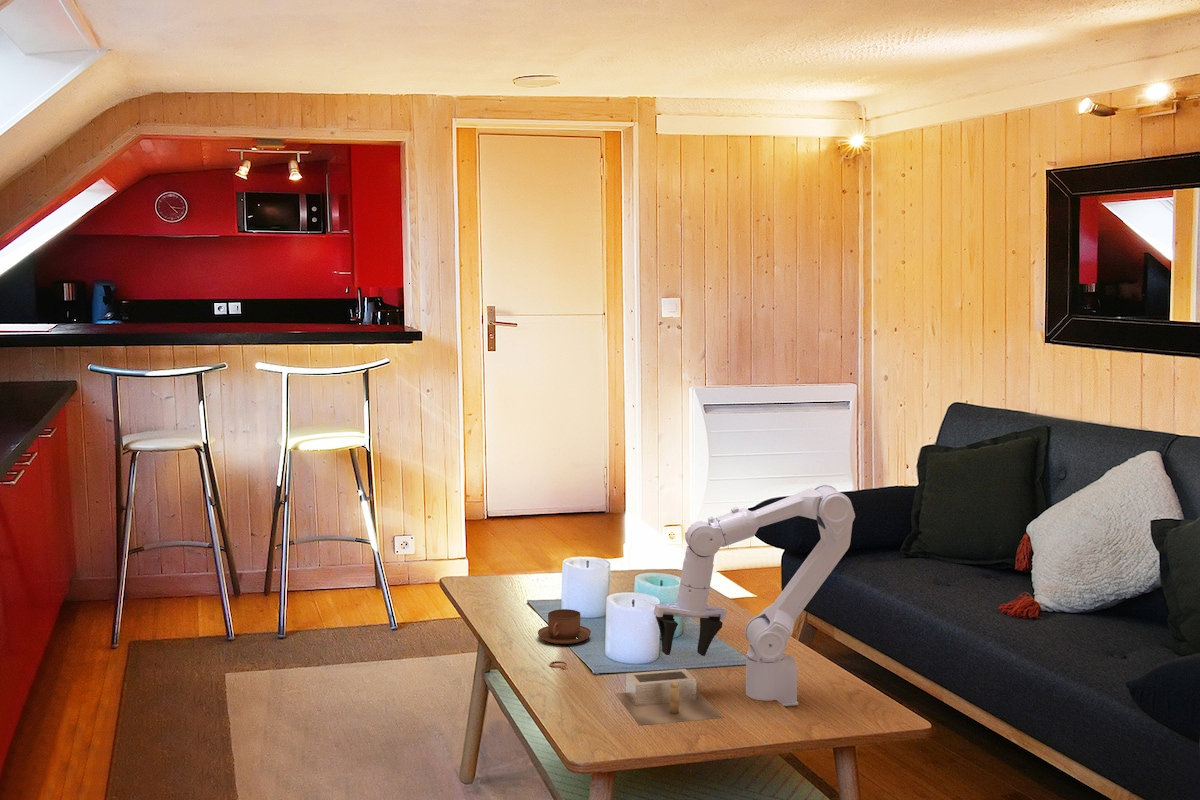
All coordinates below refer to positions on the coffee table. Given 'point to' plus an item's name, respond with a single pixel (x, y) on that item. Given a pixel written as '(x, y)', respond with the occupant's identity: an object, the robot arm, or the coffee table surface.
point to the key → (559, 665)
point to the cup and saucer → (564, 628)
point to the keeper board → (664, 709)
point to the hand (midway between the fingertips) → (683, 653)
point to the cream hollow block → (659, 686)
